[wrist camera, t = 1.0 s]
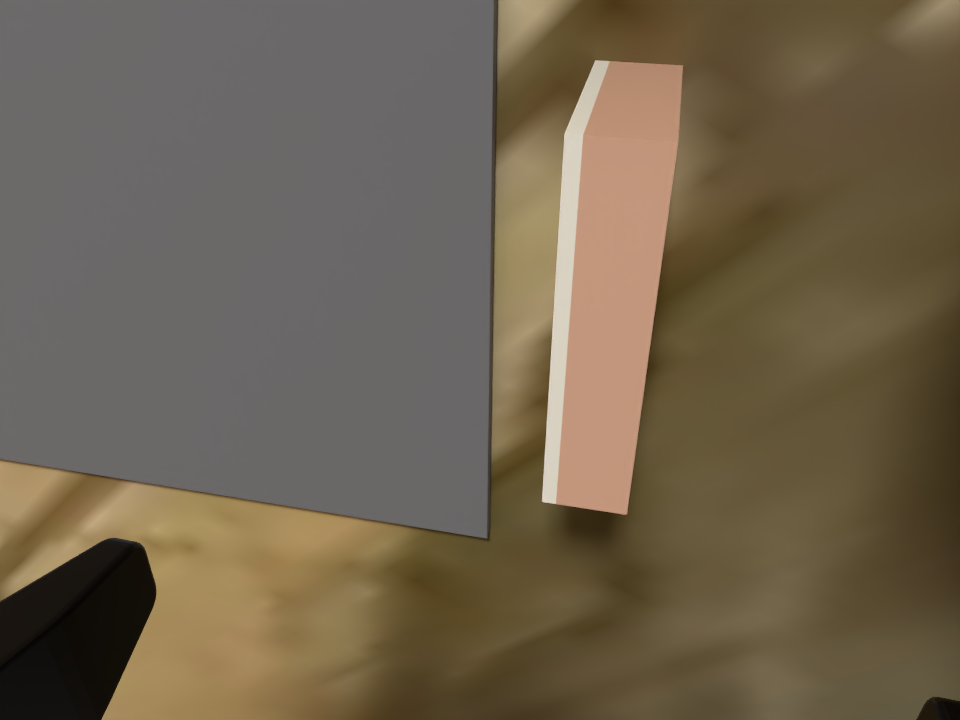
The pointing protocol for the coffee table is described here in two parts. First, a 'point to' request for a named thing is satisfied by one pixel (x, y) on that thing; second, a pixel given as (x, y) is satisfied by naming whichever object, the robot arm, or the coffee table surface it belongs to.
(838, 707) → the coffee table surface
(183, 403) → the mat
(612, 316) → the tile
